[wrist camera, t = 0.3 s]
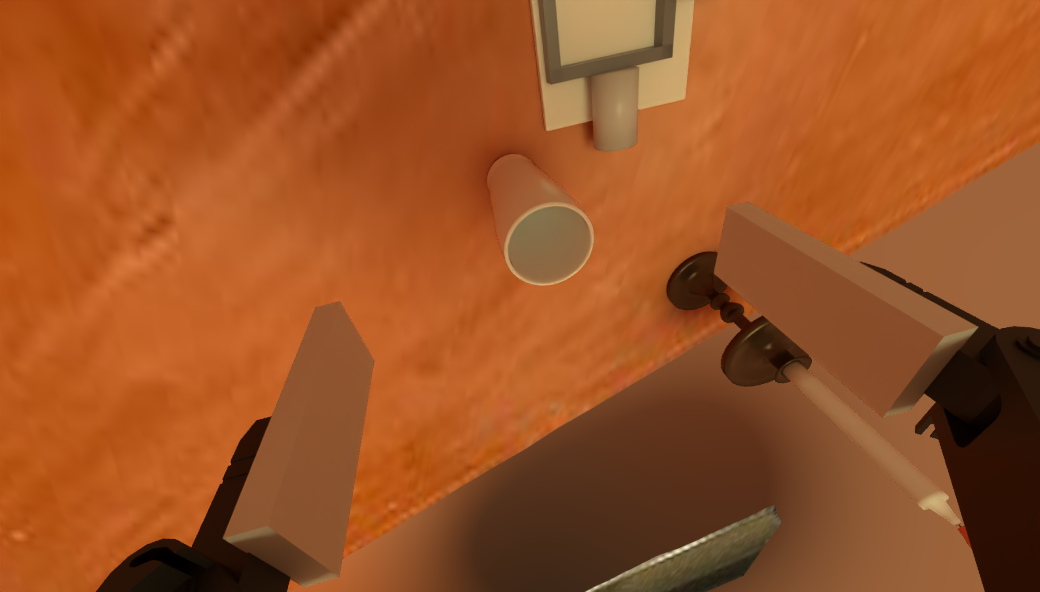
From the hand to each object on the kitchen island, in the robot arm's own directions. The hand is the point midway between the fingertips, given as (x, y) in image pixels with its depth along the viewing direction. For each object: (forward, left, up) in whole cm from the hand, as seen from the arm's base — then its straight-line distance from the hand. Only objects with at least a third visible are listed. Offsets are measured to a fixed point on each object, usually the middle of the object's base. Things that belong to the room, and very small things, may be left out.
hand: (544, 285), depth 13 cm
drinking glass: (+6, +3, -27) cm, 28 cm away
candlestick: (+26, +26, -27) cm, 46 cm away
